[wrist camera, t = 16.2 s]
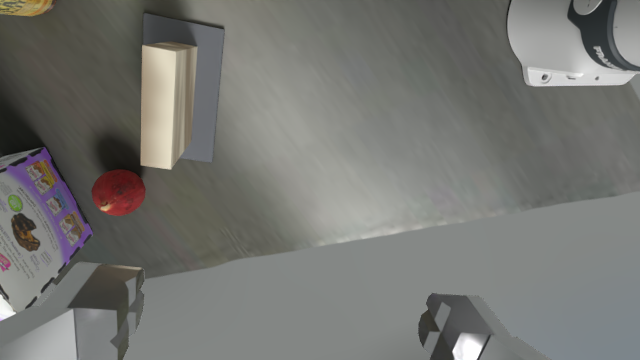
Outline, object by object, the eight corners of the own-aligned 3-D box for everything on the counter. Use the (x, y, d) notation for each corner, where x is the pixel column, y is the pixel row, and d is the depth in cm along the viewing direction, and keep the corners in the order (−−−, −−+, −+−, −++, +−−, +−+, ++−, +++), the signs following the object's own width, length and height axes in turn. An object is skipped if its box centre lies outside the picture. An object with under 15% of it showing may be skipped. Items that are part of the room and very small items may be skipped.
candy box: (1, 155, 45) (-135, 218, 30) (47, 145, 45) (-66, 203, 30) (55, 244, 51) (-37, 334, 36) (96, 234, 51) (21, 321, 36)
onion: (130, 152, 47) (103, 175, 40) (162, 184, 49) (142, 211, 42) (98, 177, 48) (65, 203, 40) (130, 207, 50) (105, 237, 43)
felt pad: (224, 29, 42) (224, 29, 42) (212, 161, 49) (212, 162, 48) (144, 12, 41) (143, 12, 40) (142, 151, 47) (141, 152, 47)
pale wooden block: (197, 46, 42) (176, 51, 33) (191, 141, 47) (170, 169, 38) (171, 41, 42) (142, 45, 33) (167, 138, 46) (140, 165, 37)
